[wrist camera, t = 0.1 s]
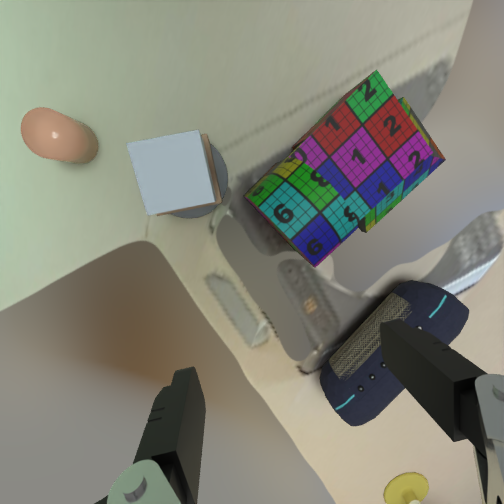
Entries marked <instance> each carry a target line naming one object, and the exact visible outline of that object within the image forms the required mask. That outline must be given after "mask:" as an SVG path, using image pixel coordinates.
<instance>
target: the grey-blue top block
mask: <svg viewBox="0 0 504 504" xmlns="http://www.w3.org/2000/svg"><path fill="white" fill-rule="evenodd" d="M126 144H127V148H128V151H129V155H130V158H131V161H132V165H133V168H134V172H135V175H136V178H137V182H138V185H139V189H140V192H141V195H142V199H143V202H144V206H145V209H146V212H147V215H152V214H157V213H162V212H167V211H172V210H177V209H182V208H187V207H192V206H197V205H202V204H207V203H212V202H215V201H216V200H217V199H216V195H215V190H214V186H213V182H212V177H211V173H210V168H209V164H208V159H207V155H206V150H205V146H204V141H203V138H202V136H201V134H200V132H199V130H194V131H189V132H184V133H178V134H173V135H168V136H162V137H157V138H152V139H146V140H141V141H136V142H130V143H126Z"/></svg>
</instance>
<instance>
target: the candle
mask: <svg viewBox="0 0 504 504" xmlns="http://www.w3.org/2000/svg"><path fill="white" fill-rule="evenodd" d="M428 489H429V486H428V481H427V479H426V478H425V477H424V476H423V475H421V474H418V473H405V474H402V475H399V476H397V477H396V478H394V479H393V480H392V481H390V482H389V484H388V485H387V486H386V488H385V491H384V499H385V502H386V503H387V504H421V503H420V502H421V501H422V500H423V499H424V497H425V496H426V495H427V492H428Z"/></svg>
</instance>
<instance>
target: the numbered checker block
mask: <svg viewBox="0 0 504 504" xmlns="http://www.w3.org/2000/svg"><path fill="white" fill-rule="evenodd" d="M292 149H293V150H294V151H293V152H292V153H291V154H290V155H289V156H288V157H287V158H286V159H284V160H282V161H280V162H278V163H276V164H275V165H274V166H273V167H272V168H271V169H270V170H269V171H268V172H267V173H266V174H265V175H264V176H263V177H262V178H261V179H260V180H259V181H258V182H257V183H256V184H255V185H254V186H253V187H252V188H251V189H250V190H249V191H248V192H247V193H246V194H245V195H244V197H245V198H246V199H247V200H248V201H249V202H250V203H251V204H252V205H253V206H254V208H255V209H256V210H257V211H258V212H259V213H260V214H261V215H262V216H263V217H264V218H265V219H266V220H267V221H268V222H269V223H270V224H271V225H272V226H273V227H274V229H275V230H276V231H277V232H278V233H279V234H280V235H281V236H282V237H283V238H284V239H285V240H286V241H287V242H288V243H289V244H290V245H291V246H292V247H293V248H294V250H295V251H297V252H298V253H299V254H300V255H301V256H302V257H303V258H304V259H305V260H307V261H308V262H309V263H310V264H311V265H312V266H313V267H316V266H318V265H319V264H320V263H321V262H322V261H323V260H324V259H325V258H326V257H327V256H328V255H329V254H331V253H332V252H333V251H334V250H335V249H336V248H337V247H338V246H339V245H340V244H341V243H342V242H343V241H345V240H346V239H347V238H348V237H349V236H350V235H351V234H352V233H353V232H354V231H355V230H356V229H357V228H359V229H360V230H361V231H362V232H365V233H367V232H368V231H369V230H370V229H371V228H372V227H373V226H374V225H375V224H376V223H377V222H379V221H380V220H381V219H382V218H383V217H384V216H385V215H386V214H387V213H388V212H389V211H390V210H392V209H393V208H394V207H395V206H396V205H397V204H398V203H399V202H400V201H401V200H403V199H404V198H405V197H406V196H407V195H408V194H409V193H410V192H411V191H412V190H413V189H414V188H416V187H417V186H418V185H419V184H420V183H421V182H422V181H423V180H424V179H425V178H426V177H427V176H429V175H430V174H431V173H432V172H433V171H434V170H435V169H436V168H437V167H438V166H439V165H441V164H442V163H443V162H444V161H445V160H446V159H445V158H444V156H443V155H442V153H441V152H440V150H439V149H438V147H437V146H436V144H435V143H434V141H433V140H432V138H431V137H430V135H429V134H428V133H427V131H426V130H425V128H424V126H423V125H422V123H421V122H420V120H419V119H418V117H417V116H416V115H415V113H414V112H413V110H412V109H411V107H410V106H409V104H408V103H407V101H406V100H405V98H404V97H402V98H401V99H399V100H397V99H396V97H395V96H394V94H393V93H392V91H391V90H390V88H389V87H388V85H387V84H386V83H385V81H384V80H383V78H382V77H381V75H380V74H379V72H378V71H377V70H375V71H374V72H373V73H372V74H370V75H369V76H368V77H367V78H365V79H364V80H363V81H362V82H360V83H359V84H358V85H356V86H355V87H354V88H353V89H351V90H350V91H349V92H348V93H346V94H345V95H344V96H343V97H342V98H341V99H340V100H339V101H338V102H337V103H336V104H335V105H334V106H333V107H332V108H331V109H330V110H329V111H328V112H327V113H326V114H325V115H324V116H323V117H322V118H321V119H320V120H319V121H318V122H317V123H316V124H315V125H314V126H313V127H312V128H311V129H310V130H309V131H308V132H307V133H306V134H305V135H304V136H303V137H302V138H301V139H300V140H299V141H298V142H297V143H296V144H295V145H294V146H293V147H292Z"/></svg>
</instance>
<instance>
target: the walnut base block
mask: <svg viewBox="0 0 504 504" xmlns="http://www.w3.org/2000/svg"><path fill="white" fill-rule="evenodd" d="M201 136H202V138H203V141H204V146H205V150H206V155H207V159H208V164H209V168H210V173H211V177H212V182H213V186H214V190H215V195H216V199H217V200H216V201H215V202H212V203H207V204H202V205H197V206H192V207H187V208H182V209H177V210H172V211H167V212H162V213H157V216H160V215H165V214H170V213H175V212H180V211H185V210H190V209H195V208H200V207H205V206H210V205H215V204H220V203H222V197H221V192H220V187H219V183H218V178H217V174H216V169H215V165H214V160H213V155H212V151H211V146H210V142H209V139H208V136H207V134H202V135H201Z"/></svg>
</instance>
